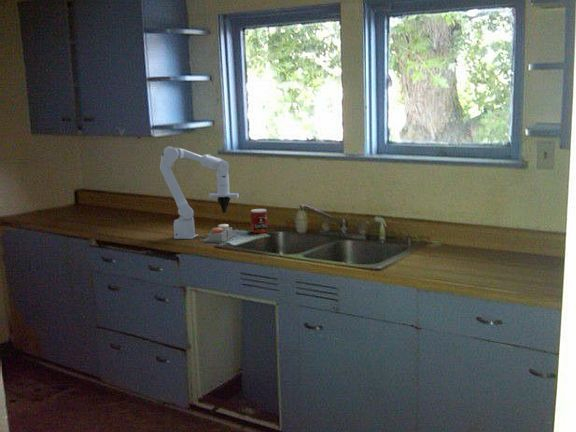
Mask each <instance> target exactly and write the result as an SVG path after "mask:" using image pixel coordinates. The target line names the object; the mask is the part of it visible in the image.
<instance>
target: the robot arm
mask: <svg viewBox="0 0 576 432" xmlns="http://www.w3.org/2000/svg"><path fill="white" fill-rule="evenodd" d="M183 158H187V159H190V160H193V161H196V162H200V164H201V166H202V167H205V168H208V169H212V170H216V185H217V192H216V193H208V198H209V199H214V198H216V200H217V202H218V203H219V206H220V207H221V208H220V209H221V210H222V213H223V214H225V213H227V212H228V206H229V203H230V201H231V199H234V198H235V199H238V198H240V197H239V193H236V192H235V193H234V192H231V191H230V179H229V178H230V177H229V170H230V164H229V162H228V161H227V160H224V159H222V158H220V157H216V156H213V155H212V154H211V153H208V154H206V153H205V154H203V155H200V154H198V153H196V152H192V151H190V150H187V149H185V148H181V147H173V146H171V145H168V146H165V148H163V150H162V152H161V154H160V164H159V170H160V173H161V174H162V177H163V178H164V180H165V183H166V184H167V186H168V188H169V190H170V193H171V195H172V197H173V199H174V201H175V203H176V206H177V214H178V215H179V217H178V218H177V219H174V220H173V236H174V237H173V239H180V240H181V239H183V240H184V239H185V240H186V239H188V240H192V239H194V238H196V237H198V236H199V234H196V233H195V232H196V230H195V219H194V214H195V211H194V209H193V208H192V207H191V206H190V205H189V203H188V200H187V199H186V197H185V196H184V193H183V191H182V190H181V186H180V185H179V182H178V181H177V178H176V177H175V175H174V172H173V170H172V168H173V165H174V163H175V161H177V160H178V159H183Z"/></svg>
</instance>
